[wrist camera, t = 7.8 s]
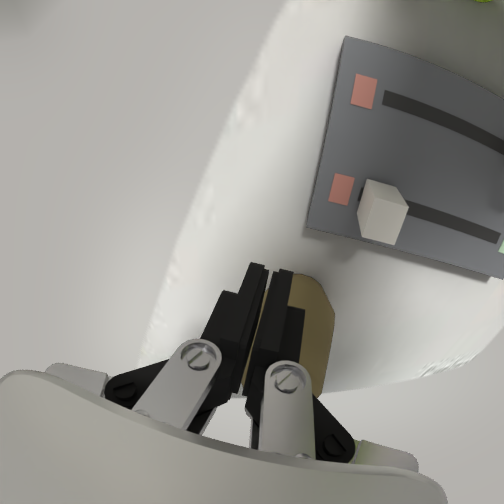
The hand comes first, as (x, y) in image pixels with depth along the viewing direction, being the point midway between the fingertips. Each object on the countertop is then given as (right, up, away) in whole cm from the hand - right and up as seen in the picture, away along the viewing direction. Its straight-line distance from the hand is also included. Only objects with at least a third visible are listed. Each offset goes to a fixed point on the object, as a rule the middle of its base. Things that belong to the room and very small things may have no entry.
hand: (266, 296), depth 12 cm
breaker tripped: (+9, +6, +10) cm, 15 cm away
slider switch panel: (+16, +9, +9) cm, 21 cm away
